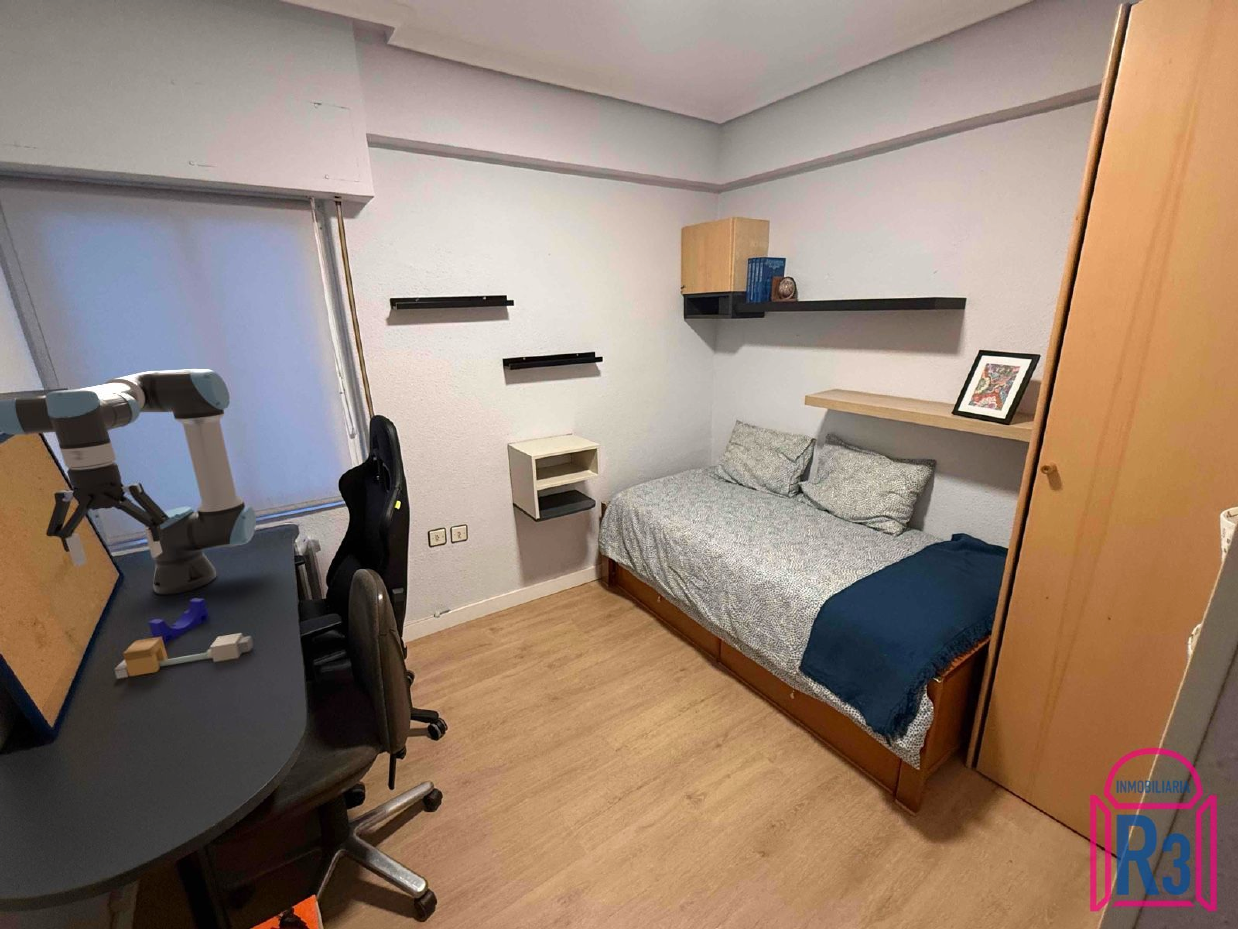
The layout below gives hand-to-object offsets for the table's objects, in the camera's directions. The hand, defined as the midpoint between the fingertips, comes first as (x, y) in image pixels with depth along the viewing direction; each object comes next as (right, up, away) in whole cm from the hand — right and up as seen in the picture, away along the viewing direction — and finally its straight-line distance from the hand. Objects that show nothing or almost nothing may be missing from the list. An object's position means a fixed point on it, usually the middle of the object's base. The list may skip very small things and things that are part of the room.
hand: (119, 559), depth 114 cm
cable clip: (-6, -23, +24) cm, 34 cm away
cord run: (+7, -26, +10) cm, 29 cm away
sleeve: (-1, -26, +8) cm, 28 cm away
